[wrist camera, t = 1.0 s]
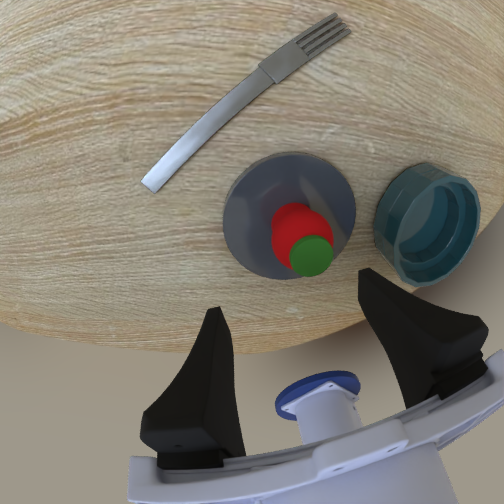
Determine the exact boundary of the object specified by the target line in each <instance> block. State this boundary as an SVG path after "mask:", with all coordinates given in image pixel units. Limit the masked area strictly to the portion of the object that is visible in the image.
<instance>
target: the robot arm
mask: <svg viewBox="0 0 504 504" xmlns="http://www.w3.org/2000/svg"><path fill="white" fill-rule="evenodd" d="M358 301H359V304H360V306H361V308H362V311H363V313H364V315H365V317H366V319H367V320H368V322H369V324H370V325H371V327H372V329H373V330H374V332H375V333H376V335H377V337H378V339H379V340H380V342H381V344H382V345H383V347H384V349H385V351H386V353H387V355H388V357H389V360H390V362H391V364H392V367H393V370H394V372H395V375H396V378H397V380H398V383H399V386H400V389H401V392H402V395H403V399H404V402H405V406H406V410H404V411H402V412H400V413H397V414H395V415H393V416H390V417H388V418H385V419H383V420H380V421H378V422H375V423H373V424H370V425H368V426H365V427H363V425H362V422H361V419H360V416H359V414H358V411H357V409H356V406H355V403H354V402H356V401H357V400H359V397H358V396H357V395H355V394H353V393H352V392H350V391H348V390H347V389H345V388H343V387H342V386H340V385H338V384H336V383H335V382H333V381H331V380H329V381H327V382H325V383H323V384H322V385H320V386H318V387H316V388H314V389H313V390H311V391H309V392H307V393H305V394H304V395H302V396H300V397H298V398H296V399H294V400H292V401H290V402H288V403H286V404H285V405H283V406H281V410H284V411H286V412H289V413H291V414H294V415H296V418H297V422H298V426H299V430H300V435H301V438H302V443H303V445H301V446H298V447H293V448H289V449H284V450H279V451H274V452H268V453H263V454H257V455H251V456H246V452H245V448H244V443H243V439H242V433H241V428H240V423H239V417H238V411H237V405H236V398H235V388H234V354H233V345H232V338H231V333H230V330H229V328H228V325H227V323H226V320H225V318H224V315H223V313H222V310H221V308H220V306H219V307H215V308H210V309H208V310H207V312H206V315H205V318H204V321H203V324H202V326H201V329H200V332H199V334H198V336H197V339H196V341H195V343H194V345H193V347H192V349H191V351H190V354H189V356H188V357H187V359H186V361H185V363H184V364H183V366H182V368H181V369H180V371H179V373H178V374H177V375H176V377H175V378H174V380H173V381H172V382H171V384H170V385H169V386H168V387H167V389H166V390H165V391H164V392H163V393H162V395H161V396H160V397H159V398H158V399H157V400H156V401H155V402H154V403H153V404H152V405H151V406H150V407H149V408H148V409H147V410H145V411H144V413H143V417H142V421H141V431H140V439H141V440H142V442H144V443H145V444H146V445H147V446H149V447H150V448H152V449H153V450H155V451H156V452H157V458H155V457H148V456H131V457H130V462H129V475H128V493H127V500H128V501H130V502H133V503H136V504H459V503H458V501H457V498H456V495H455V492H454V490H453V487H452V485H451V482H450V480H449V477H448V475H447V472H446V470H445V467H444V465H443V462H442V460H441V458H440V456H439V453H438V451H439V450H441V449H443V448H444V447H446V446H447V445H449V444H450V443H452V442H454V441H455V440H457V439H458V438H460V437H461V436H463V435H464V434H466V433H467V432H468V431H470V430H471V429H473V428H474V427H476V426H477V425H478V424H480V423H481V422H482V421H484V420H485V419H486V418H488V417H489V416H490V415H491V414H493V413H494V412H495V411H496V410H498V409H499V408H500V407H501V406H503V405H504V351H503V350H502V349H500V350H499V351H497V352H496V353H494V354H493V355H491V356H490V357H489V358H488V359H486V360H485V362H484V361H483V359H482V357H483V353H482V352H481V351H480V349H481V348H482V346H483V344H484V342H485V340H486V338H487V336H488V331H489V329H488V327H487V326H486V324H485V323H484V322H483V321H482V320H481V318H480V317H479V316H474V315H468V314H463V313H459V312H455V311H451V310H448V309H445V308H442V307H439V306H436V305H433V304H431V303H429V302H427V301H424V300H422V299H420V298H418V297H416V296H414V295H412V294H410V293H409V292H407V291H405V290H403V289H402V288H400V287H398V286H397V285H395V284H394V283H392V282H390V281H389V280H387V279H386V278H384V277H383V276H381V275H380V274H378V273H377V272H375V271H374V270H372V269H370V268H366V269H363V270H359V274H358Z"/></svg>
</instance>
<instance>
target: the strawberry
mask: <svg viewBox="0 0 504 504" xmlns="http://www.w3.org/2000/svg"><path fill="white" fill-rule="evenodd" d="M271 228H272V239H271V242H272V248H273V251H274V253H275V256H276V257H277V259H278V260H279V261H280V262H281V263H282V264H283V265H284V266H286V267H287V268H289V269H292V270H294V271H295V272H296V273H297V274H299V275H301V276H305V277H312V276H316V275H318V274H321V273H322V272H324V271H325V270H326V269H327V268H328V267H329V266H330V264H331V262H332V259H333V249H332V248H333V243H334V238H333V232H332V229H331V227H330V225H329V223H328V222H327V220H326V219H325V218H324V217H323V216H322V215H320V214H319V213H317V212H315V211H312V210H310V208H309V207H307V206H306V205H304V204H301V203H289V204H286V205H284V206H282V207H281V208H279V209H278V210H277V211H276V213H275V214H274V216H273V218H272V222H271Z"/></svg>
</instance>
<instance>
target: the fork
mask: <svg viewBox="0 0 504 504" xmlns="http://www.w3.org/2000/svg"><path fill="white" fill-rule="evenodd" d="M336 16H338V15H337V14H336V13H333V14H332V15H330V16H328V17H327V18H325V19H323V20H322V21H320V22H318V23H317V24H315V25H314V26H312V27H310V28H309V29H307V30H306V31H304V32H303V33H301V34H300V35H298V36H297V37H295V38H294V39H292V40H291V41H289V42H288V43H287V44H285V45H284V46H282V47H281V48H280V49H278V50H277V51H275V52H274V53H273V54H271V55H270V56H269V57H267V58H266V59H265V60H263V61H262V62H261V63H259V64H258V66H259V68H258V69H257V70H255V71H254V72H253V73H252V74H250V75H249V76H248V77H247V78H245V79H244V80H243V81H242V82H241V83H239V84H238V85H237V86H236V87H235V88H233V89H232V90H231V91H230V92H229V93H228V94H226V95H225V96H224V97H223V98H222V99H221V100H220V101H219V102H217V103H216V104H215V105H214V106H213V107H212V108H211V109H210V110H209V111H208V112H206V113H205V114H204V115H203V116H202V117H201V118H200V119H199V120H198V121H197V122H196V123H195V124H194V125H193V126H192V127H191V128H190V129H189V130H188V131H187V132H186V133H185V134H184V135H183V136H182V137H181V138H180V139H179V140H178V141H177V142H176V143H175V144H174V145H173V146H172V147H171V148H170V149H169V150H168V151H167V152H166V153H165V154H164V155H163V156H162V157H161V159H160V160H159V161H158V162H157V163H156V164H155V165H154V166H153V167H152V168H151V170H150V171H149V172H148V173H147V174H146V175H145V176H144V177H143V179H142V180H141V181H140V182H141V183H142V184H144V185H145V186H146V187H147V188H148V189H149V190H150V191H151V192H153V193H154V194H155V193H156V192H157V191H158V190H159V189H160V188H161V187H162V186H163V185H164V184H165V183H166V182H167V181H168V179H169V178H170V177H171V176H172V175H173V174H174V173H175V172H176V171H177V170H178V169H179V168H180V167H181V166H182V165H183V164H184V163H185V162H186V161H187V160H188V159H189V158H190V157H191V156H192V155H193V154H194V153H195V152H196V151H197V150H198V149H199V148H200V147H201V146H202V145H203V144H204V143H205V142H206V141H207V140H208V139H209V138H211V137H212V136H213V135H214V134H215V133H216V132H217V131H218V130H219V129H220V128H221V127H222V126H224V125H225V124H226V123H227V122H228V121H229V120H230V119H231V118H232V117H234V116H235V115H236V114H237V113H238V112H239V111H240V110H242V109H243V108H244V107H245V106H246V105H247V104H249V103H250V102H251V101H252V100H253V99H255V98H256V97H257V96H258V95H259V94H261V93H262V92H263V91H264V90H266V89H267V88H268V87H269V86H271V85H272V84H273V83H275V84H278V83H279V82H280V81H282V80H283V79H284V78H286V77H287V76H288V75H290V74H291V73H292V72H294V71H295V70H296V69H298V68H299V67H300V66H302V65H303V64H304V63H306V62H307V61H309V60H310V59H311V58H313V57H314V56H316V55H317V54H319V53H320V52H321V51H323V50H324V49H326V48H327V47H329V46H330V45H332V44H333V43H335V42H336V41H338V40H339V39H341V38H342V37H344V36H346V35H347V34H349V33H350V32H351V30H350V29H347V30H345V31H343V32H342V33H340V34H338V35H337V36H335V37H334V38H332V39H331V40H329V41H328V42H326V43H325V44H323V45H322V46H320V47H319V48H317V49H316V50H314V51H313V52H311V53H310V54H309V55H307V54H306V53H307V52H309V51H310V50H311V49H313V48H314V47H316V46H317V45H319V44H320V43H322V42H323V41H325V40H326V39H328V38H329V37H331V36H332V35H334V34H336V33H337V32H339V31H340V30H342V29H343V28H345V27H347V25H346V24H345V23H343V24H341V25H340V26H338V27H337V28H335V29H333V30H332V31H330V32H329V33H327V34H326V35H324V36H322V37H321V38H319V39H318V40H316V41H315V42H313V43H312V44H310V45H309V46H308V47H306V48H305V49H303V50H302V49H301V47H303V46H304V45H306V44H307V43H309V42H310V41H312V40H313V39H315V38H316V37H318V36H319V35H321V34H322V33H324V32H325V31H327V30H329V29H330V28H332V27H333V26H335V25H337V24H338V23H340V22H342V19H341V18H338V19H337V20H335V21H333V22H332V23H330V24H328V25H327V26H325V27H324V28H322V29H320V30H319V31H317V32H316V33H314V34H313V35H311V36H310V37H308V38H307V39H305V40H304V41H302V42H301V43H299V44H297V43H296V42H297V41H299V40H300V39H302V38H303V37H305V36H306V35H308V34H309V33H311V32H312V31H314V30H315V29H317V28H318V27H320V26H322V25H323V24H325V23H326V22H328V21H330V20H331V19H333V18H335V17H336Z"/></svg>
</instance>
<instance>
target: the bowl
mask: <svg viewBox="0 0 504 504" xmlns="http://www.w3.org/2000/svg"><path fill="white" fill-rule="evenodd" d="M480 212H481V207H480V202H479V198H478V194H477V191H476V190H475V188H474V187H473V186H472V185H471V184H470V182H469V181H468V180H467V179H466V178H464V177H462V176H460V175H458V174H456V173H454V172H452V171H450V170H448V169H446V168H443V167H441V166H438V165H434V164H429V163H423V164H420V165H417V166H414V167H411V168H408V169H406V170H405V171H404V172H403V173H402V174H401V175H399V176H398V177H397V178H396V179H395V180H394V181H392V182H391V184H390V185H389V187H388V189H387V191H386V192H385V194H384V196H383V197H382V199H381V201H380V202H379V204H378V209H377V213H376V217H375V221H374V225H373V228H374V236H375V245H376V248H377V249H378V251H379V252H380V254H381V255H382V257H383V258H384V260H385V261H386V262H387V263H388V265H389V266H390V267H391V268H392V269H393V271H394V272H395V273H396V274H397V275H398V277H399V278H400V279H401V280H402V281H403V282H405V283H407V284H410V285H412V286H414V287H422V286H431V285H433V284H435V283H437V282H439V281H441V280H442V279H445V278H446V277H448V276H449V275H450V274H451V273H452V272H453V271H454V270H455V269H456V268H457V267H458V266H459V265H460V264H461V263H462V262H463V260H464V259H465V257H466V256H467V254H468V252H469V251H470V249H471V248H472V246H473V243H474V241H475V238H476V235H477V232H478V229H479V224H480Z"/></svg>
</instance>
